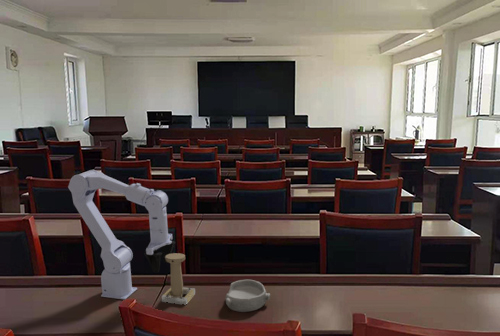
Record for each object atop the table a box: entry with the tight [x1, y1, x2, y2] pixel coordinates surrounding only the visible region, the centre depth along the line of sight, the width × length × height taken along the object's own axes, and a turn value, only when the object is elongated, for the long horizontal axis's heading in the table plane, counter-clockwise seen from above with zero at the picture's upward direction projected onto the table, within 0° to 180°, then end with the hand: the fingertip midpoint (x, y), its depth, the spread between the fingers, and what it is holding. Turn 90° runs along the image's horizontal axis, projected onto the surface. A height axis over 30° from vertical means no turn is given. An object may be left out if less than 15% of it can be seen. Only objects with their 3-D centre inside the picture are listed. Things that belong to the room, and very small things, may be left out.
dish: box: [225, 279, 271, 313], centre depth 134 cm, size 14×14×5 cm
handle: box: [165, 252, 186, 297], centre depth 136 cm, size 5×6×15 cm
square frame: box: [161, 286, 196, 306], centre depth 138 cm, size 9×8×2 cm
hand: (161, 267), depth 138 cm, fingers open, 7 cm apart
